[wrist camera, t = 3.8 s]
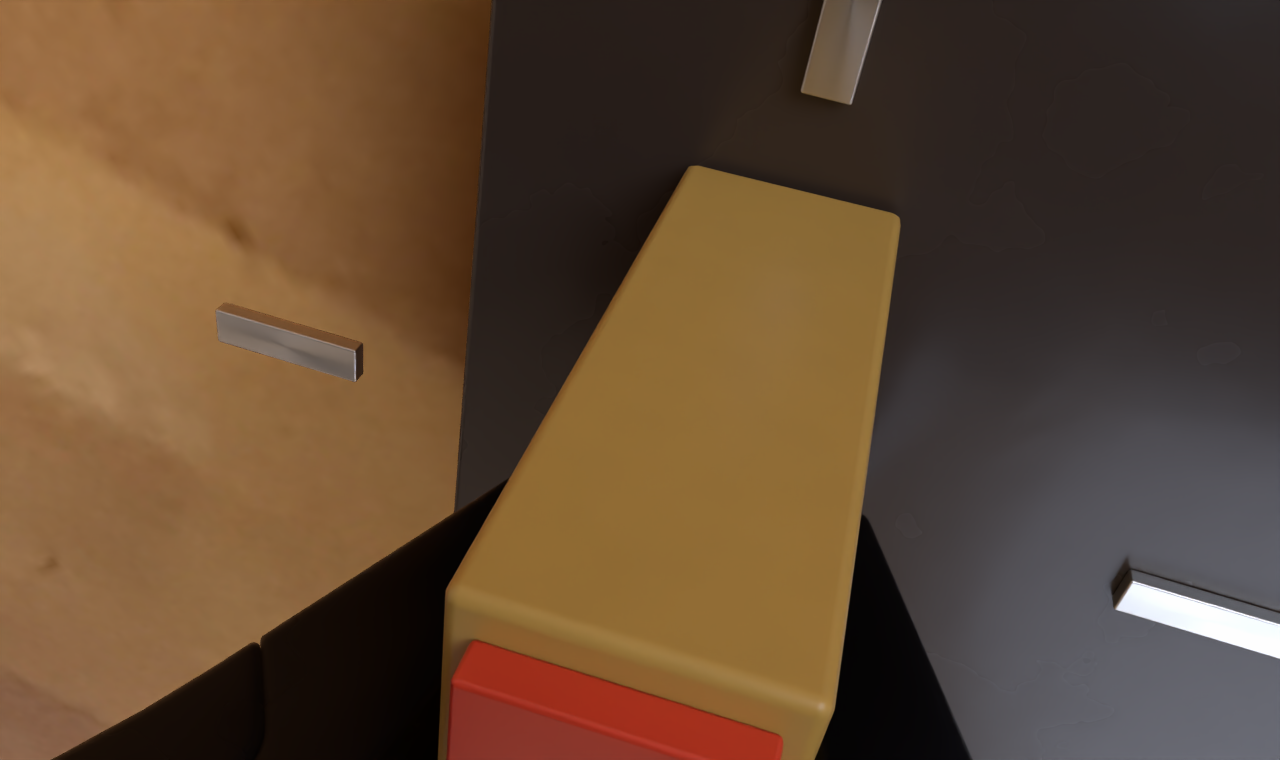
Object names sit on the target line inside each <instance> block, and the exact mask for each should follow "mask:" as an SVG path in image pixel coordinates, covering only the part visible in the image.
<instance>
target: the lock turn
mask: <svg viewBox="0 0 1280 760" xmlns="http://www.w3.org/2000/svg"><path fill="white" fill-rule="evenodd" d="M900 227H901V224H900V218H899V217H898V216H897V215H895V214H893V213H890V212H886V211H882V210H878V209H874V208H870V207H865V206H861V205H857V204H853V203H849V202H845V201H841V200H837V199H833V198H829V197H825V196H820V195H816V194H812V193H808V192H804V191H800V190H796V189H792V188H788V187H784V186H779V185H775V184H771V183H767V182H763V181H759V180H755V179H751V178H747V177H743V176H739V175H734V174H730V173H726V172H722V171H718V170H714V169H710V168H706V167H702V166H689V167H688V169H687V170H686V172H685V173H684V175H683V177H682V178H681V180H680V182H679V184H678V185H677V187H676V189H675V191H674V192H673V194H672V196H671V198H670V199H669V201H668V203H667V205H666V206H665V208H664V210H663V212H662V213H661V215H660V217H659V219H658V220H657V222H656V224H655V226H654V227H653V229H652V231H651V232H650V234H649V236H648V238H647V239H646V241H645V243H644V245H643V246H642V248H641V250H640V252H639V253H638V255H637V257H636V259H635V260H634V262H633V264H632V266H631V267H630V269H629V271H628V273H627V274H626V276H625V278H624V280H623V281H622V283H621V285H620V287H619V288H618V290H617V292H616V294H615V295H614V297H613V299H612V301H611V302H610V304H609V306H608V308H607V309H606V311H605V313H604V314H603V316H602V318H601V320H600V321H599V323H598V325H597V327H596V328H595V330H594V332H593V334H592V335H591V337H590V339H589V341H588V342H587V344H586V346H585V348H584V349H583V351H582V353H581V355H580V356H579V358H578V360H577V362H576V363H575V365H574V367H573V369H572V370H571V372H570V374H569V376H568V377H567V379H566V381H565V383H564V384H563V386H562V388H561V390H560V391H559V393H558V395H557V396H556V398H555V400H554V402H553V403H552V405H551V407H550V409H549V410H548V412H547V414H546V416H545V417H544V419H543V421H542V423H541V424H540V426H539V428H538V430H537V431H536V433H535V435H534V437H533V438H532V440H531V442H530V444H529V445H528V447H527V449H526V451H525V452H524V454H523V456H522V458H521V459H520V461H519V463H518V465H517V466H516V468H515V470H514V472H513V473H512V475H511V477H510V478H509V480H508V482H507V484H506V485H505V487H504V489H503V491H502V492H501V494H500V496H499V498H498V499H497V501H496V503H495V505H494V506H493V508H492V510H491V512H490V513H489V515H488V517H487V519H486V520H485V522H484V524H483V526H482V527H481V529H480V531H479V533H478V534H477V536H476V538H475V540H474V541H473V543H472V545H471V547H470V548H469V550H468V552H467V553H466V555H465V557H464V559H463V560H462V562H461V564H460V566H459V567H458V569H457V571H456V573H455V574H454V576H453V578H452V580H451V581H450V583H449V585H448V587H447V588H446V591H445V613H444V635H443V657H442V679H441V701H440V723H439V745H438V760H815V757H816V755H817V752H818V750H819V747H820V745H821V742H822V740H823V737H824V735H825V732H826V730H827V727H828V725H829V722H830V720H831V718H832V715H833V713H834V710H835V703H836V696H837V689H838V681H839V674H840V667H841V659H842V652H843V645H844V637H845V630H846V623H847V615H848V608H849V601H850V593H851V586H852V579H853V572H854V564H855V557H856V550H857V542H858V535H859V528H860V520H861V513H862V506H863V498H864V491H865V484H866V476H867V469H868V462H869V454H870V447H871V440H872V432H873V425H874V418H875V410H876V403H877V396H878V388H879V381H880V374H881V366H882V359H883V352H884V344H885V337H886V330H887V322H888V315H889V308H890V300H891V293H892V286H893V278H894V271H895V264H896V256H897V249H898V242H899V234H900Z"/></svg>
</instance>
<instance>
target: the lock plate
mask: <svg viewBox="0 0 1280 760" xmlns="http://www.w3.org/2000/svg"><path fill="white" fill-rule="evenodd" d="M689 166H702V167H706V168H710V169H714V170H718V171H722V172H726V173H730V174H734V175H739V176H743V177H747V178H751V179H755V180H759V181H763V182H767V183H771V184H775V185H779V186H784V187H788V188H792V189H796V190H800V191H804V192H808V193H812V194H816V195H820V196H825V197H829V198H833V199H837V200H841V201H845V202H849V203H853V204H857V205H861V206H865V207H870V208H874V209H878V210H882V211H886V212H890V213H893V214H895V215H897V216H898V217H899V218H900V224H901V227H900V234H899V242H898V249H897V256H896V264H895V271H894V278H893V286H892V293H891V300H890V308H889V315H888V322H887V330H886V337H885V344H884V352H883V359H882V366H881V374H880V381H879V388H878V396H877V403H876V410H875V418H874V425H873V432H872V440H871V447H870V454H869V462H868V469H867V476H866V484H865V491H864V498H863V506H862V514H864V515H865V516H866V517H867V518H868V519H869V521H870V523H871V526H872V528H873V530H874V532H875V535H876V537H877V539H878V542H879V544H880V546H881V549H882V551H883V553H884V556H885V558H886V560H887V563H888V565H889V567H890V569H891V572H892V574H893V576H894V579H895V581H896V583H897V586H898V588H899V590H900V593H901V595H902V597H903V600H904V602H905V604H906V606H907V609H908V611H909V613H910V616H911V618H912V620H913V623H914V625H915V627H916V630H917V632H918V634H919V637H920V639H921V641H922V644H923V646H924V648H925V650H926V653H927V655H928V657H929V660H930V662H931V664H932V667H933V669H934V671H935V674H936V676H937V678H938V681H939V683H940V685H941V687H942V690H943V692H944V694H945V697H946V699H947V701H948V704H949V706H950V708H951V711H952V713H953V715H954V718H955V720H956V722H957V724H958V727H959V729H960V731H961V734H962V736H963V738H964V741H965V743H966V745H967V748H968V750H969V752H970V755H971V757H972V759H973V760H1280V0H492V3H491V16H490V30H489V43H488V57H487V71H486V84H485V98H484V111H483V125H482V139H481V152H480V166H479V180H478V193H477V207H476V220H475V234H474V248H473V261H472V275H471V288H470V302H469V316H468V329H467V343H466V356H465V370H464V384H463V397H462V411H461V424H460V438H459V452H458V465H457V479H456V492H455V506H454V513H455V512H456V511H458V510H459V509H461V508H463V507H464V506H466V505H467V504H469V503H470V502H472V501H473V500H475V499H477V498H478V497H480V496H481V495H483V494H484V493H486V492H487V491H489V490H491V489H492V488H494V487H495V486H497V485H498V484H500V483H501V482H503V481H505V480H506V479H508V478H509V477H511V475H512V473H513V472H514V470H515V468H516V466H517V465H518V463H519V461H520V459H521V458H522V456H523V454H524V452H525V451H526V449H527V447H528V445H529V444H530V442H531V440H532V438H533V437H534V435H535V433H536V431H537V430H538V428H539V426H540V424H541V423H542V421H543V419H544V417H545V416H546V414H547V412H548V410H549V409H550V407H551V405H552V403H553V402H554V400H555V398H556V396H557V395H558V393H559V391H560V390H561V388H562V386H563V384H564V383H565V381H566V379H567V377H568V376H569V374H570V372H571V370H572V369H573V367H574V365H575V363H576V362H577V360H578V358H579V356H580V355H581V353H582V351H583V349H584V348H585V346H586V344H587V342H588V341H589V339H590V337H591V335H592V334H593V332H594V330H595V328H596V327H597V325H598V323H599V321H600V320H601V318H602V316H603V314H604V313H605V311H606V309H607V308H608V306H609V304H610V302H611V301H612V299H613V297H614V295H615V294H616V292H617V290H618V288H619V287H620V285H621V283H622V281H623V280H624V278H625V276H626V274H627V273H628V271H629V269H630V267H631V266H632V264H633V262H634V260H635V259H636V257H637V255H638V253H639V252H640V250H641V248H642V246H643V245H644V243H645V241H646V239H647V238H648V236H649V234H650V232H651V231H652V229H653V227H654V226H655V224H656V222H657V220H658V219H659V217H660V215H661V213H662V212H663V210H664V208H665V206H666V205H667V203H668V201H669V199H670V198H671V196H672V194H673V192H674V191H675V189H676V187H677V185H678V184H679V182H680V180H681V178H682V177H683V175H684V173H685V172H686V170H687V169H688V167H689ZM216 321H217V331H218V340H219V341H220V342H223V343H227V344H230V345H233V346H237V347H240V348H243V349H247V350H250V351H253V352H257V353H260V354H263V355H267V356H270V357H273V358H277V359H280V360H283V361H287V362H290V363H293V364H297V365H300V366H303V367H307V368H310V369H313V370H317V371H320V372H323V373H327V374H330V375H333V376H337V377H340V378H343V379H347V380H350V381H353V382H356V381H357V380H358V379H359V378H360V377H361V375H362V374H363V343H362V342H358V341H355V340H351V339H348V338H345V337H341V336H338V335H334V334H331V333H328V332H324V331H321V330H317V329H314V328H311V327H307V326H304V325H300V324H297V323H294V322H290V321H287V320H283V319H280V318H277V317H273V316H270V315H266V314H263V313H260V312H256V311H253V310H250V309H246V308H243V307H239V306H236V305H233V304H229V303H223V304H222V305H221V306H220V307H218V308H217V309H216Z"/></svg>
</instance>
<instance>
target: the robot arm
mask: <svg viewBox="0 0 1280 760" xmlns="http://www.w3.org/2000/svg"><path fill="white" fill-rule="evenodd" d="M509 478H510V477H509ZM509 478H508V479H506V480H505V481H503V482H501V483H500V484H498V485H497V486H495V487H494V488H492V489H491V490H489V491H487V492H486V493H484V494H483V495H481V496H480V497H478V498H477V499H475V500H473V501H472V502H470V503H469V504H467V505H466V506H464V507H463V508H461V509H459V510H458V511H456V512H455V513H453V514H452V515H450V516H449V517H447V518H445V519H444V520H442V521H441V522H439V523H438V524H436V525H435V526H433V527H431V528H430V529H428V530H427V531H425V532H424V533H422V534H420V535H419V536H417V537H416V538H414V539H413V540H411V541H410V542H408V543H406V544H405V545H403V546H402V547H400V548H399V549H397V550H396V551H394V552H392V553H391V554H389V555H388V556H386V557H385V558H383V559H382V560H380V561H378V562H377V563H375V564H374V565H372V566H371V567H369V568H368V569H366V570H364V571H363V572H361V573H360V574H358V575H357V576H355V577H354V578H352V579H350V580H349V581H347V582H346V583H344V584H343V585H341V586H340V587H338V588H336V589H335V590H333V591H332V592H330V593H329V594H327V595H325V596H324V597H322V598H321V599H319V600H318V601H316V602H315V603H313V604H311V605H310V606H308V607H307V608H305V609H304V610H302V611H301V612H299V613H297V614H296V615H294V616H293V617H291V618H290V619H288V620H287V621H285V622H283V623H282V624H280V625H279V626H277V627H276V628H274V629H273V630H271V631H269V632H268V633H266V634H265V635H263V636H262V637H261V640H260V645H259V644H258V643H255V642H253V643H250V644H248V645H247V646H245V647H244V648H242V649H241V650H239V651H238V652H236V653H234V654H233V655H231V656H230V657H228V658H227V659H225V660H224V661H222V662H220V663H219V664H217V665H216V666H214V667H213V668H211V669H209V670H208V671H206V672H204V673H203V674H201V675H200V676H198V677H196V678H195V679H193V680H191V681H190V682H188V683H186V684H185V685H183V686H181V687H180V688H178V689H176V690H175V691H173V692H172V693H170V694H168V695H167V696H165V697H163V698H162V699H160V700H158V701H157V702H155V703H153V704H152V705H150V706H148V707H147V708H145V709H144V710H142V711H140V712H138V713H136V714H134V715H133V716H131V717H129V718H127V719H125V720H123V721H122V722H120V723H118V724H116V725H114V726H112V727H111V728H109V729H107V730H105V731H103V732H101V733H100V734H98V735H96V736H94V737H92V738H90V739H89V740H87V741H85V742H83V743H81V744H79V745H78V746H76V747H74V748H72V749H70V750H68V751H67V752H65V753H63V754H61V755H59V756H57V757H55V758H53V759H51V760H438V745H439V723H440V701H441V679H442V657H443V635H444V613H445V591H446V588H447V587H448V585H449V583H450V581H451V580H452V578H453V576H454V574H455V573H456V571H457V569H458V567H459V566H460V564H461V562H462V560H463V559H464V557H465V555H466V553H467V552H468V550H469V548H470V547H471V545H472V543H473V541H474V540H475V538H476V536H477V534H478V533H479V531H480V529H481V527H482V526H483V524H484V522H485V520H486V519H487V517H488V515H489V513H490V512H491V510H492V508H493V506H494V505H495V503H496V501H497V499H498V498H499V496H500V494H501V492H502V491H503V489H504V487H505V485H506V484H507V482H508V480H509ZM260 647H261V648H260ZM815 760H973V759H972V757H971V755H970V752H969V750H968V748H967V745H966V743H965V741H964V738H963V736H962V734H961V731H960V729H959V727H958V724H957V722H956V720H955V718H954V715H953V713H952V711H951V708H950V706H949V704H948V701H947V699H946V697H945V694H944V692H943V690H942V687H941V685H940V683H939V681H938V678H937V676H936V674H935V671H934V669H933V667H932V664H931V662H930V660H929V657H928V655H927V653H926V650H925V648H924V646H923V644H922V641H921V639H920V637H919V634H918V632H917V630H916V627H915V625H914V623H913V620H912V618H911V616H910V613H909V611H908V609H907V606H906V604H905V602H904V600H903V597H902V595H901V593H900V590H899V588H898V586H897V583H896V581H895V579H894V576H893V574H892V572H891V569H890V567H889V565H888V563H887V560H886V558H885V556H884V553H883V551H882V549H881V546H880V544H879V542H878V539H877V537H876V535H875V532H874V530H873V528H872V526H871V523H870V521H869V519H868V518H867V517H866V516H865V515H864V514H862V513H861V520H860V528H859V535H858V542H857V550H856V557H855V564H854V572H853V579H852V586H851V593H850V601H849V608H848V615H847V623H846V630H845V637H844V645H843V652H842V659H841V667H840V674H839V681H838V689H837V696H836V703H835V710H834V713H833V715H832V718H831V720H830V722H829V725H828V727H827V730H826V732H825V735H824V737H823V740H822V742H821V745H820V747H819V750H818V752H817V755H816V757H815Z"/></svg>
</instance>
